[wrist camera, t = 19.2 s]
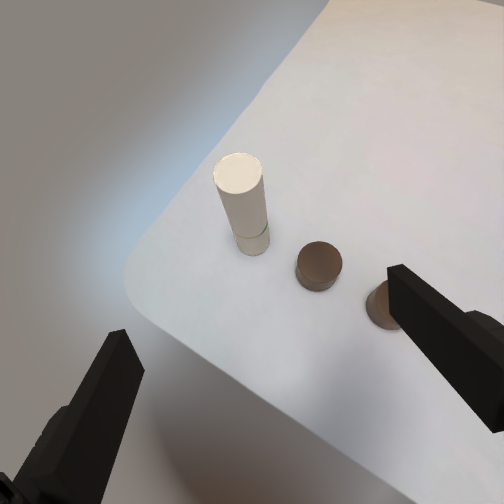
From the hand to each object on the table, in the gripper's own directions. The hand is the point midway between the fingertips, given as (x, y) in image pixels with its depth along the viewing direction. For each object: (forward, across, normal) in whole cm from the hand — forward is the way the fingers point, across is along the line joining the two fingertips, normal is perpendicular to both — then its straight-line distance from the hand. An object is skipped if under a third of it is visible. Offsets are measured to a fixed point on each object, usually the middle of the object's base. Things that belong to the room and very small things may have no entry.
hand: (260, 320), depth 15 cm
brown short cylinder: (+16, +14, -14) cm, 26 cm away
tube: (+25, +1, -6) cm, 26 cm away
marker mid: (+21, +7, -10) cm, 24 cm away
